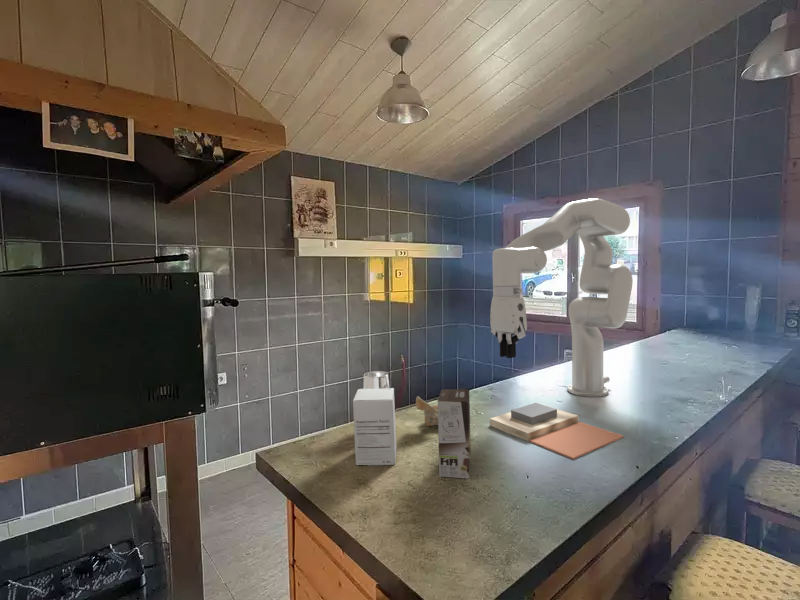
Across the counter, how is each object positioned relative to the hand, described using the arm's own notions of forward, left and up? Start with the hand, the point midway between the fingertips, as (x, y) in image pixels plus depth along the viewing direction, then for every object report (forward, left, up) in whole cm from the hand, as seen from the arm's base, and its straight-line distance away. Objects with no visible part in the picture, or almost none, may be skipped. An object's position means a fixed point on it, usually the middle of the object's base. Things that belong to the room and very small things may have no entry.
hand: (507, 356), depth 120 cm
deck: (0, +9, -17) cm, 19 cm away
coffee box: (+33, +16, -17) cm, 40 cm away
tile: (0, +9, -14) cm, 17 cm away
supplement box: (+44, +1, -17) cm, 47 cm away
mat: (0, +22, -17) cm, 28 cm away
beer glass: (+35, -14, -17) cm, 42 cm away
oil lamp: (+18, -7, -17) cm, 26 cm away
